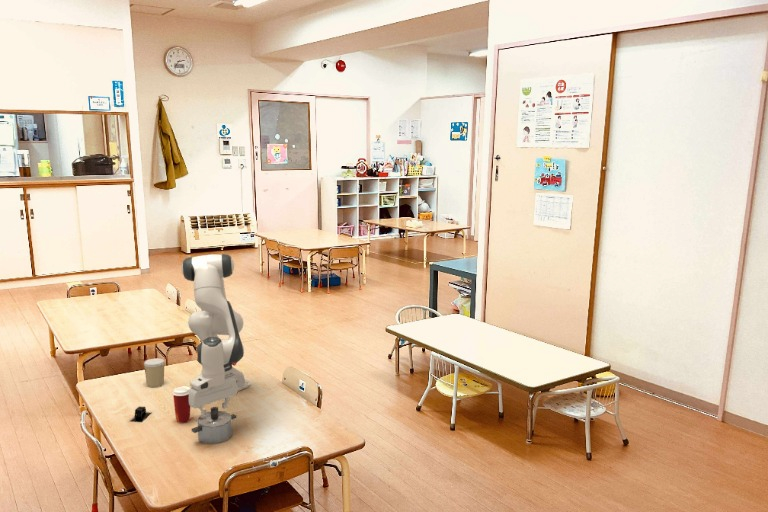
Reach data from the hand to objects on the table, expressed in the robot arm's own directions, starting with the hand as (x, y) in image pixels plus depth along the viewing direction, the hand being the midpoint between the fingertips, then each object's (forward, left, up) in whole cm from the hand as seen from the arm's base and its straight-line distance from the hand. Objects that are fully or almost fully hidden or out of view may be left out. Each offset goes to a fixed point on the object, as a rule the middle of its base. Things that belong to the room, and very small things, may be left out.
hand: (214, 411), depth 237 cm
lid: (0, 0, -4) cm, 4 cm away
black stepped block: (+13, -37, -11) cm, 41 cm away
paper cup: (+2, -22, -11) cm, 25 cm away
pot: (0, 0, -11) cm, 11 cm away
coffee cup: (-8, -67, -11) cm, 68 cm away
